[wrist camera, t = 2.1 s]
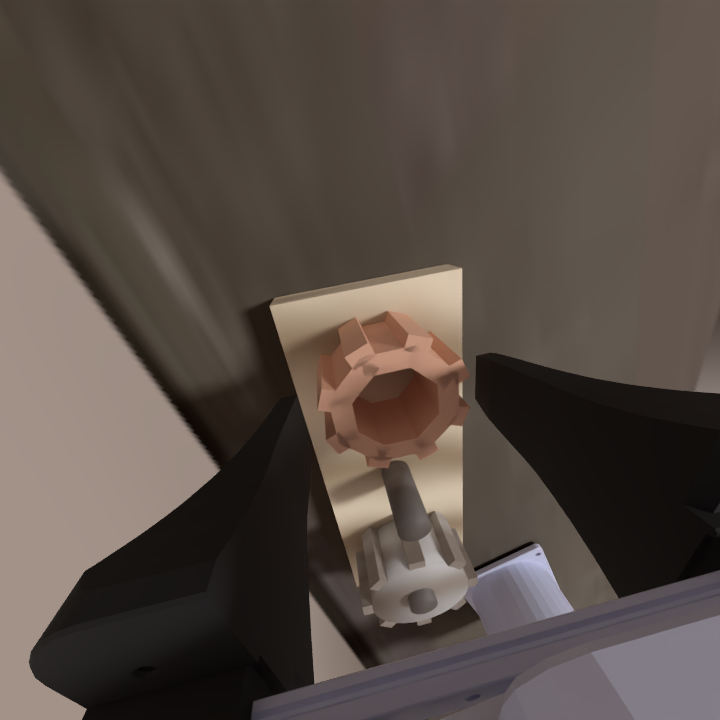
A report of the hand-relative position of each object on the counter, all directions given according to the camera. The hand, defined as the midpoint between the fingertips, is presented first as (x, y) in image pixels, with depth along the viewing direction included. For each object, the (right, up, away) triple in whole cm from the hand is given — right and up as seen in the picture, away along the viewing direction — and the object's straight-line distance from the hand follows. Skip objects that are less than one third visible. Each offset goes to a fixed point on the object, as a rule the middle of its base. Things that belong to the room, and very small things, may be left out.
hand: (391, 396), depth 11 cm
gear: (0, +1, +2) cm, 2 cm away
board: (+1, -4, +6) cm, 8 cm away
